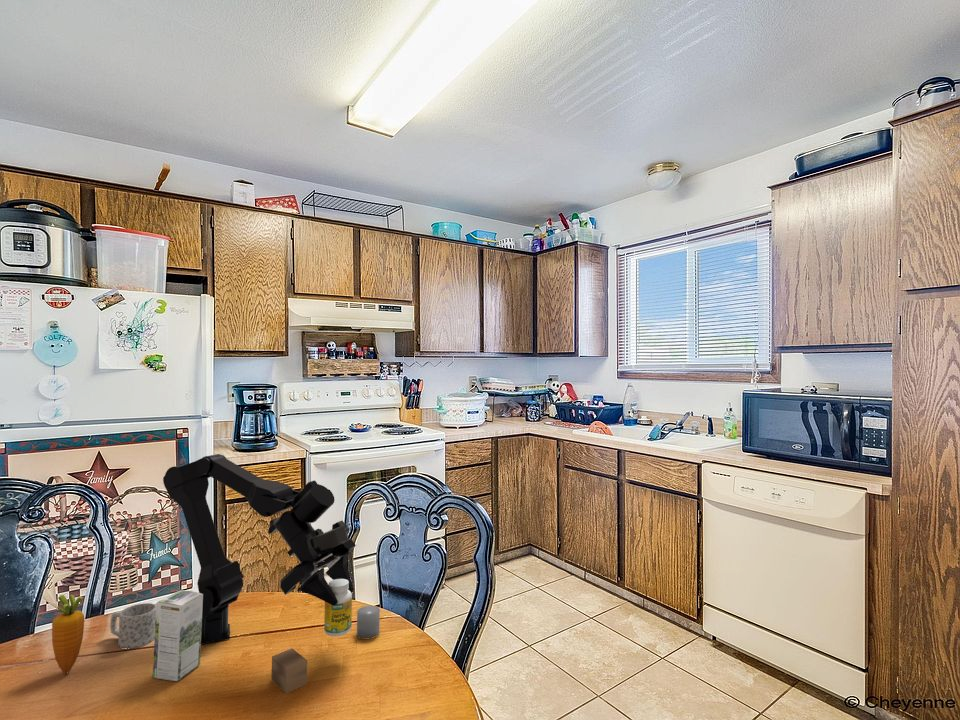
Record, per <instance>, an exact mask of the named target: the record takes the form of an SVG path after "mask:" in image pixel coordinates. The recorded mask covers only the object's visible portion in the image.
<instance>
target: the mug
mask: <svg viewBox="0 0 960 720" xmlns="http://www.w3.org/2000/svg"><path fill="white" fill-rule="evenodd" d="M117 621H118V623H119V624H118V625H117ZM155 621H156V603H152V602H143V603H138V604H132V605H131V606H128V607H126V608H123V609H122V610H121V611H114V612H113V613H112V614H111V616H110V627H109V628H110V632H111V634H113V635H114V636H116V637H117V638H118V643H117V644H118V645H117V646H119V647H120V648H119V647H118V648H119V649H121V648H127V649H126V650H132V649H131V648H135V649H138V647H139V648H141V646H142V647H144V646H147V645H149V644H151V643H152V642H153V641H155ZM128 648H129V649H128Z"/></svg>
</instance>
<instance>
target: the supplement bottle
mask: <svg viewBox="0 0 960 720" xmlns="http://www.w3.org/2000/svg"><path fill="white" fill-rule="evenodd" d="M328 585H329V586H330V588H331V590H332V591H333V593H334V595H335V596H336V598H337V600H338V603H337V604H336V605H335V606H333V605H331V604H329V603H327V602H325V601H324V624H323V628H324V629H323V631H324V633H325V635H327V636H330V637H340V636H343V635H346V634H348V633H349V632H350V631H351V629H352V625H353V623H352V622H353V621H352V615H353V592H352V593H351V592H350V591H349V590H348V588H349V581H348V580H346V579H335V580H333V579H332V580H331V581H329V582H328Z"/></svg>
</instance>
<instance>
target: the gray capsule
mask: <svg viewBox="0 0 960 720" xmlns="http://www.w3.org/2000/svg"><path fill="white" fill-rule="evenodd" d="M380 613H381V609H380V608H379V607H378V606H376V605H365V606H362V607H360V608H358V609H357V611H356V636H357V637H358V638H359V637H360V638H359V639H361V638H371V639H373V638H372V637H374V636H376V635H377V636H378V635H380V625H381V624H380V620H381V619H380V616H381V615H380ZM377 636H376V637H377ZM374 638H375V637H374Z"/></svg>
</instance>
